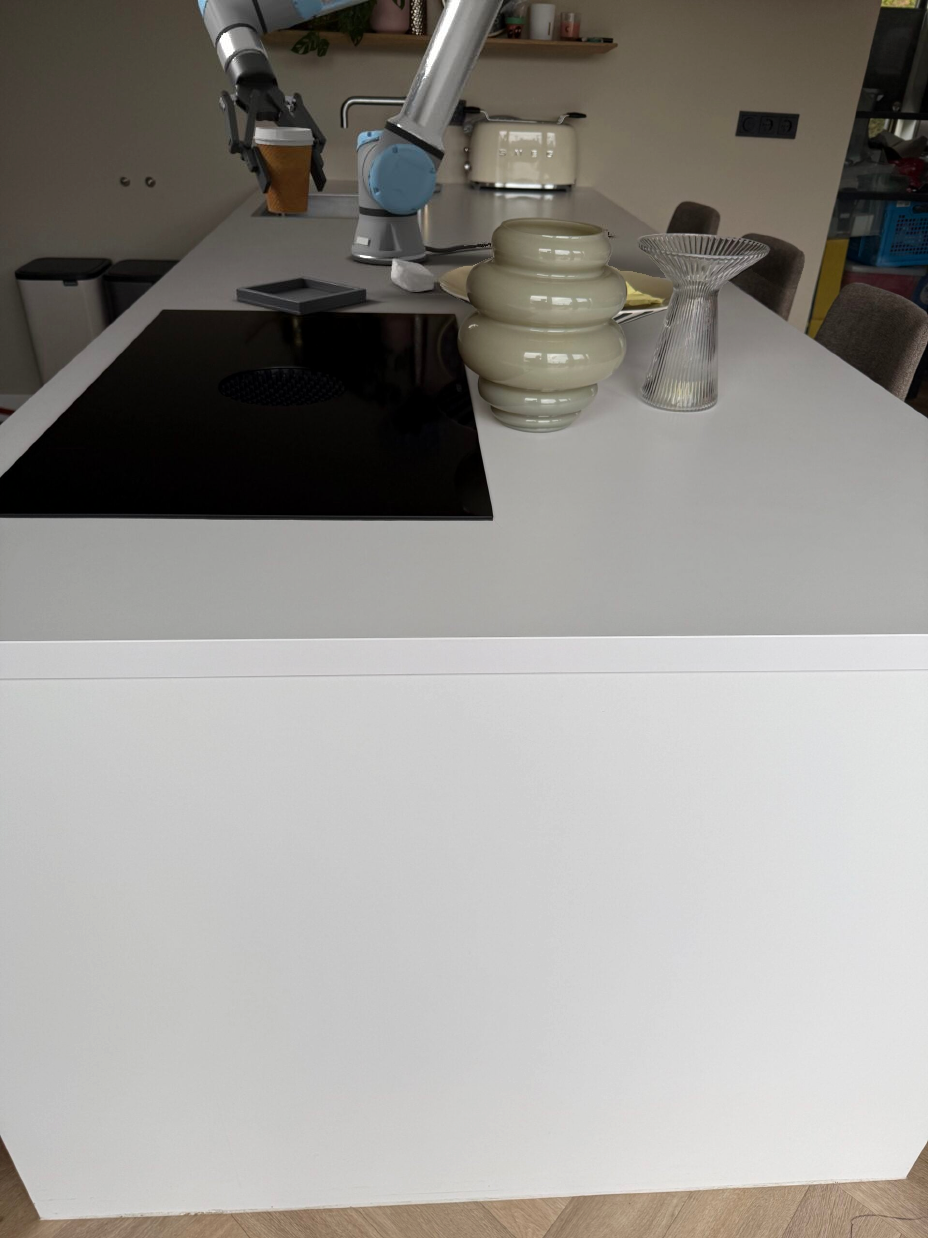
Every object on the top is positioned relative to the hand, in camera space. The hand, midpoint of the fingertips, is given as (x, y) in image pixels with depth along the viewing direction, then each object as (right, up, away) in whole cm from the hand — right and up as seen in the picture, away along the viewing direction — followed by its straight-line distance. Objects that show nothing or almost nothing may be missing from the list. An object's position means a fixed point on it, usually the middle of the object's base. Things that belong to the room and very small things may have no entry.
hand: (295, 186), depth 146 cm
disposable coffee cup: (-2, -2, +4) cm, 5 cm away
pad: (0, -16, +5) cm, 17 cm away
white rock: (+18, -10, +18) cm, 27 cm away
